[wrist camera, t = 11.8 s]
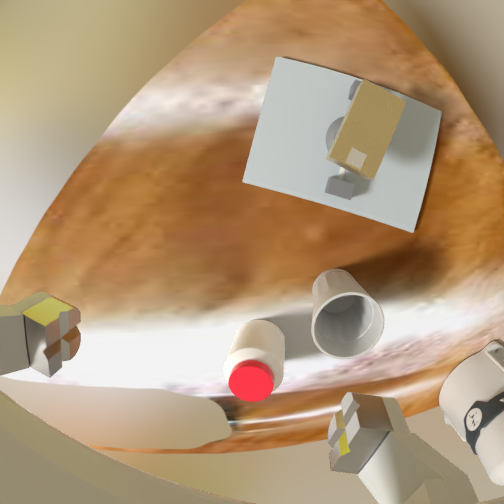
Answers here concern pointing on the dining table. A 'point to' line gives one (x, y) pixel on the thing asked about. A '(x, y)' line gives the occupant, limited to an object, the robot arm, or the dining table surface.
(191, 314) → the dining table surface
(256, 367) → the pill bottle
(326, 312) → the cup
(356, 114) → the tan parcel with label
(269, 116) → the base
